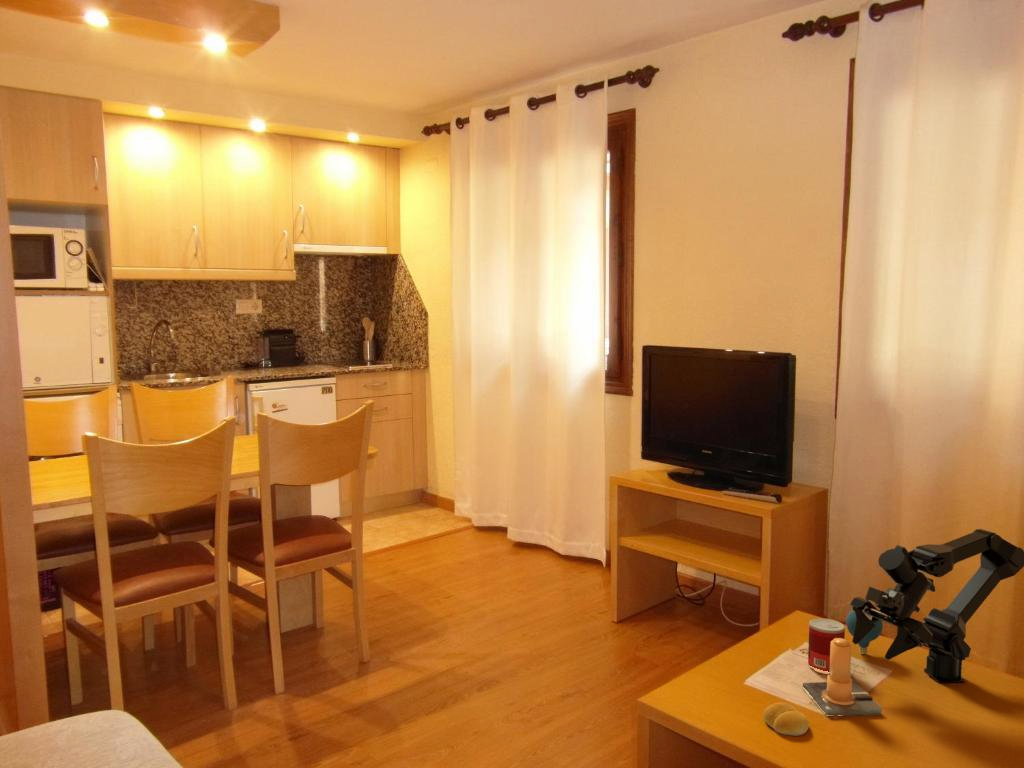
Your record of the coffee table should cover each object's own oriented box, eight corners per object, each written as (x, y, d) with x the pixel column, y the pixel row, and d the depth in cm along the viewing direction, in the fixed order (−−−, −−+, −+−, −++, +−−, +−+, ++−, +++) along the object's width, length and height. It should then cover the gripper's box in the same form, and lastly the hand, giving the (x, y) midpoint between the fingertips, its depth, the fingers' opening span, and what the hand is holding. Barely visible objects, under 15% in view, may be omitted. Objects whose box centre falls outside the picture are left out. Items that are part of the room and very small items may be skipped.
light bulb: (837, 650, 196) (839, 604, 195) (861, 644, 200) (863, 599, 199) (864, 663, 189) (866, 616, 188) (889, 657, 192) (891, 611, 191)
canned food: (848, 675, 183) (850, 631, 182) (814, 675, 183) (816, 630, 182) (835, 661, 190) (837, 618, 189) (803, 660, 191) (804, 617, 189)
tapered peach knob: (849, 692, 171) (851, 637, 170) (852, 703, 166) (855, 647, 165) (825, 689, 172) (827, 635, 171) (828, 700, 168) (830, 644, 166)
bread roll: (785, 741, 155) (786, 722, 155) (757, 719, 164) (757, 701, 163) (818, 733, 158) (819, 714, 158) (788, 712, 167) (789, 694, 166)
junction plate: (853, 687, 177) (854, 679, 177) (881, 714, 165) (881, 706, 165) (802, 689, 176) (802, 681, 176) (826, 716, 164) (826, 708, 164)
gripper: (855, 562, 181) (818, 616, 178) (922, 586, 164) (883, 645, 161) (881, 590, 185) (845, 643, 181) (950, 616, 167) (912, 675, 164)
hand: (869, 650), depth 172 cm, fingers open, 9 cm apart
